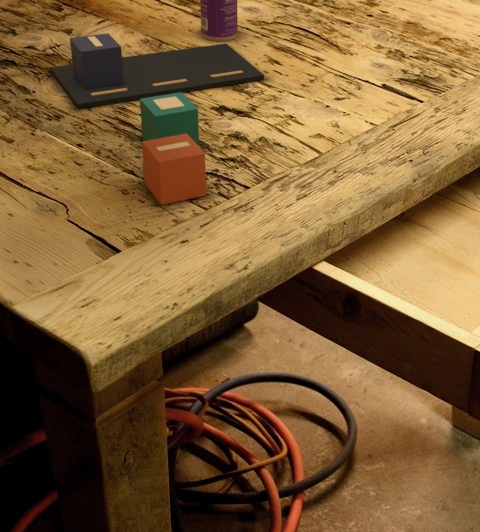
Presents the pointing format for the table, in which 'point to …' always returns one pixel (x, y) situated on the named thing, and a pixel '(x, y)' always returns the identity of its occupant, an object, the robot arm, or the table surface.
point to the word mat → (163, 75)
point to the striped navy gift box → (97, 61)
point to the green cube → (168, 117)
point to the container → (218, 19)
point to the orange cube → (174, 168)
